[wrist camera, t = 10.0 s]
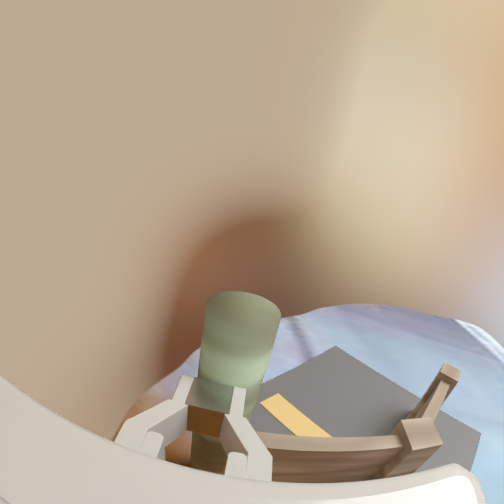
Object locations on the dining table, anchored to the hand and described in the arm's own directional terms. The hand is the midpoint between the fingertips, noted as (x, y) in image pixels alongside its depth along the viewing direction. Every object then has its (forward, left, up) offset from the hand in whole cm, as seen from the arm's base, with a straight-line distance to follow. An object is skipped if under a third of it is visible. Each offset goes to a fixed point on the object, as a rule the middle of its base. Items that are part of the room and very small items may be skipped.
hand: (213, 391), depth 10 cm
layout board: (-6, -16, -12) cm, 21 cm away
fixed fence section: (-9, -19, -12) cm, 24 cm away
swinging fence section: (-4, -7, -12) cm, 14 cm away
